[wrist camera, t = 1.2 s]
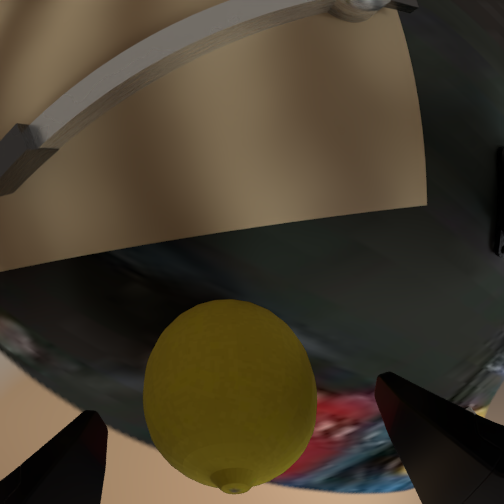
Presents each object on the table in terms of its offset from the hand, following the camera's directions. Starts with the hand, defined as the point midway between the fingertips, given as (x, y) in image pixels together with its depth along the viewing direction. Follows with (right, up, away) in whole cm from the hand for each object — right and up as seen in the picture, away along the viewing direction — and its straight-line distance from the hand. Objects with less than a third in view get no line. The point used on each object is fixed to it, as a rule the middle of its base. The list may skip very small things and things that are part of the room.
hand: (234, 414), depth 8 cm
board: (-3, +13, +1) cm, 14 cm away
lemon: (-1, +2, +5) cm, 6 cm away
